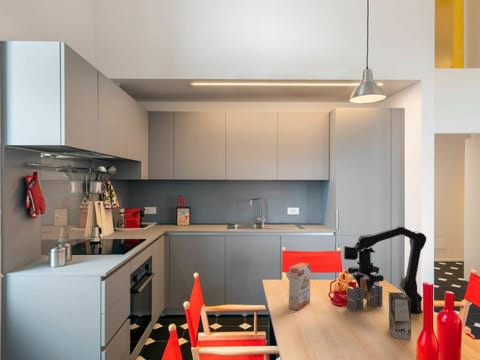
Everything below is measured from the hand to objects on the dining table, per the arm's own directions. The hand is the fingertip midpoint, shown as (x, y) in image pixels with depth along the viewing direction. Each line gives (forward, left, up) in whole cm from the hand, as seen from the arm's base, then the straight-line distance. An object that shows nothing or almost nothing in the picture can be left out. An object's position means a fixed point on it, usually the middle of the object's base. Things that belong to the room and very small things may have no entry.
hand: (365, 290), depth 159 cm
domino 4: (0, -4, -8) cm, 9 cm away
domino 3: (0, 0, -4) cm, 4 cm away
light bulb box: (+20, -24, -8) cm, 32 cm away
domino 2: (0, +5, -8) cm, 9 cm away
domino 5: (0, -9, -8) cm, 12 cm away
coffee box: (-28, +10, -8) cm, 31 cm away
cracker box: (+15, +30, -8) cm, 35 cm away
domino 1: (0, +9, -8) cm, 12 cm away
